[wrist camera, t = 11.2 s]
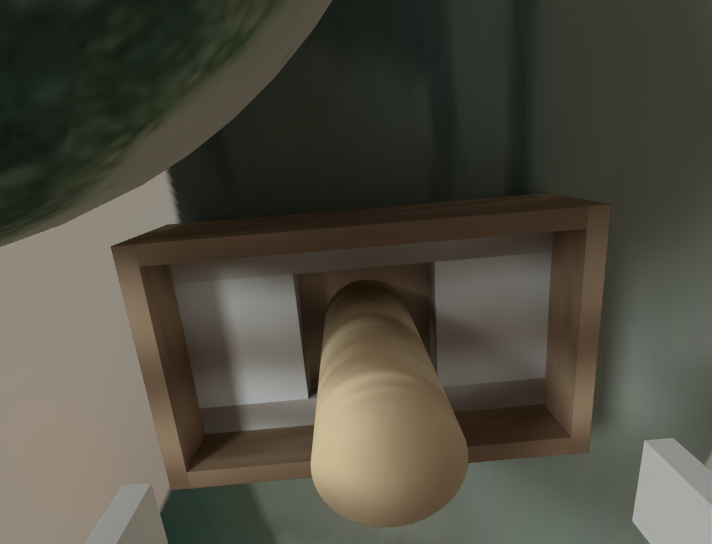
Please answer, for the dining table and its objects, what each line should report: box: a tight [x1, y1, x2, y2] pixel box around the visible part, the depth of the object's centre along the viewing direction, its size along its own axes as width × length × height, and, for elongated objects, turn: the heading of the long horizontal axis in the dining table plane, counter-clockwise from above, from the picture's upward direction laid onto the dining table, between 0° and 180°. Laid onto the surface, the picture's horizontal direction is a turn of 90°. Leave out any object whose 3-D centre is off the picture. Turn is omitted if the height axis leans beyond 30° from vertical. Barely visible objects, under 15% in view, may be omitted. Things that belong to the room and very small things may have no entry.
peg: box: [311, 280, 468, 527], centre depth 19 cm, size 5×5×12 cm
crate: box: [111, 193, 611, 490], centre depth 23 cm, size 13×22×6 cm, turn 95°
